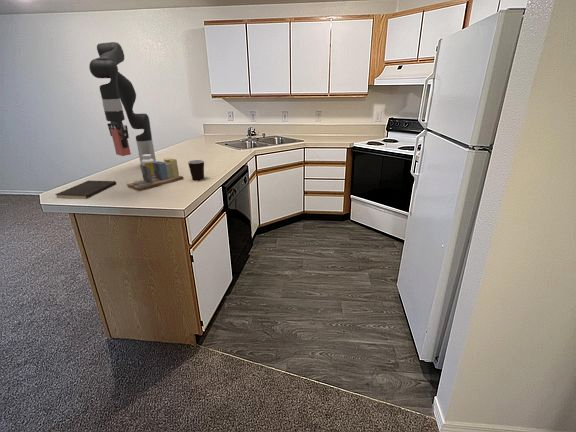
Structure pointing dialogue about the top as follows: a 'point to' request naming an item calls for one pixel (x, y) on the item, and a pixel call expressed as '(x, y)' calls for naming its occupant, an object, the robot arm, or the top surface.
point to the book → (119, 143)
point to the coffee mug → (197, 169)
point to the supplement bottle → (148, 163)
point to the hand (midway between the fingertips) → (122, 146)
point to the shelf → (158, 175)
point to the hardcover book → (86, 189)
